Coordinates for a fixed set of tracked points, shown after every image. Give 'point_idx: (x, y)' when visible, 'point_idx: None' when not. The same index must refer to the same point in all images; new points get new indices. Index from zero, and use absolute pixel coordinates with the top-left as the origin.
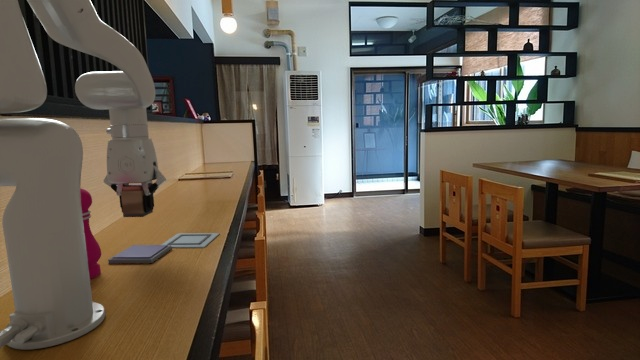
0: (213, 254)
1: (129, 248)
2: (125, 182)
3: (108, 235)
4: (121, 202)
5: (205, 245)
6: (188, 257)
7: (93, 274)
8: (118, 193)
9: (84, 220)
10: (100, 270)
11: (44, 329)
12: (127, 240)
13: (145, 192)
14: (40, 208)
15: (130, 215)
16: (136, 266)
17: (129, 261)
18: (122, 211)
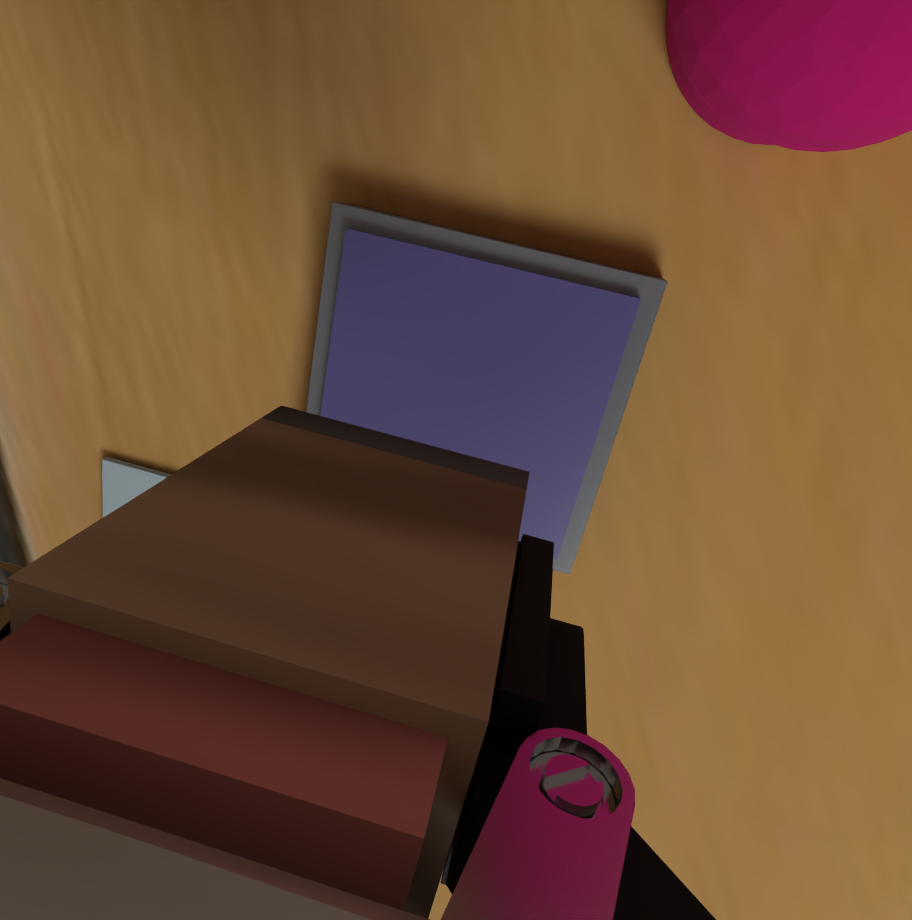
0: (4, 303)
1: (563, 486)
2: (180, 854)
3: (819, 902)
4: (537, 615)
5: (103, 481)
6: (140, 281)
7: None
8: (591, 788)
9: None
10: (671, 52)
11: None
12: (658, 758)
13: (1, 621)
14: None
15: (430, 451)
16: (435, 164)
17: (501, 240)
18: (544, 543)
